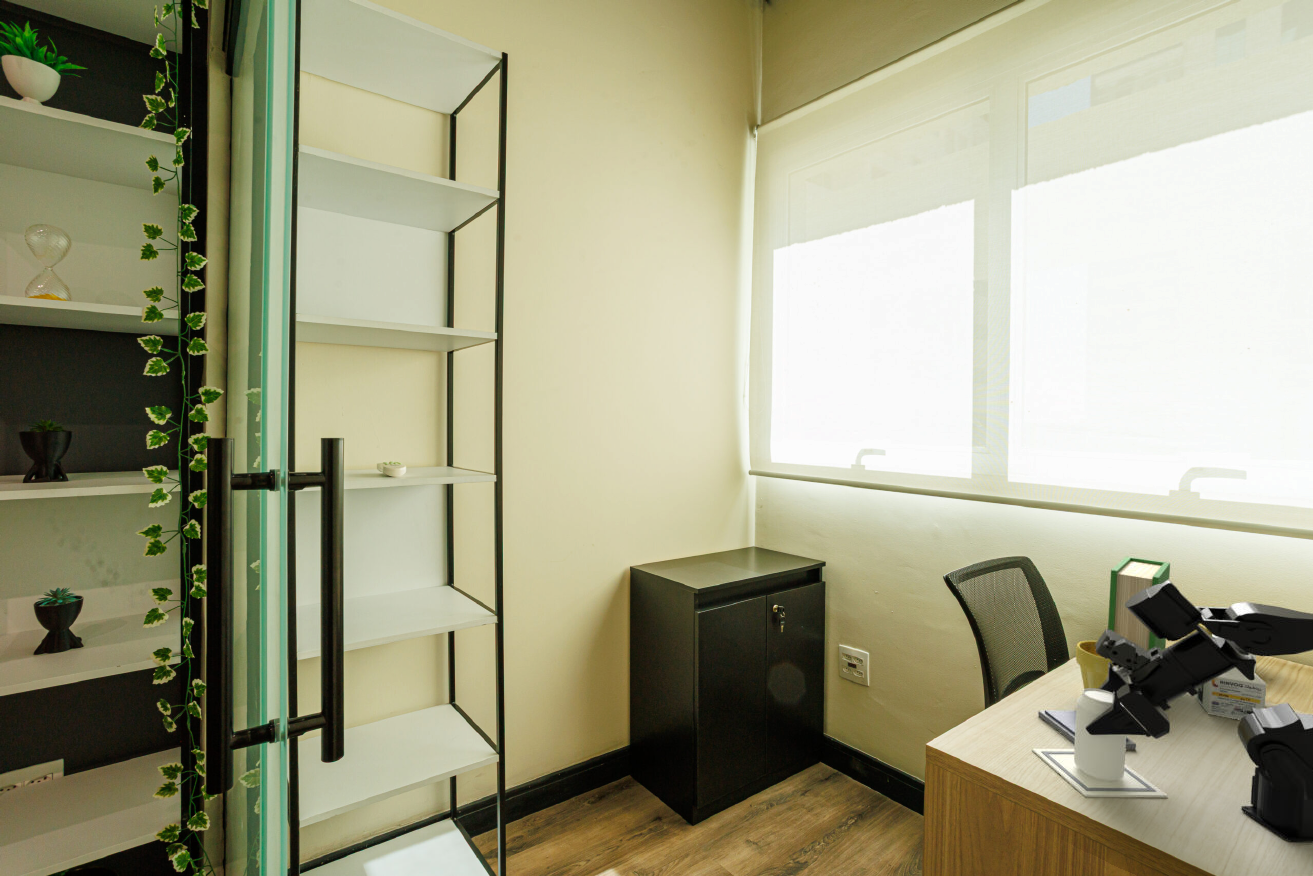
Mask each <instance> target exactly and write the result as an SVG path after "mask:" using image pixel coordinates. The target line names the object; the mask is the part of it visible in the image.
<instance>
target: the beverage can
mask: <svg viewBox="0 0 1313 876" xmlns="http://www.w3.org/2000/svg"><path fill="white" fill-rule="evenodd" d="M1112 702H1113V693H1111V692H1108V691H1105V690H1101V689H1094V688H1087V689H1084V688H1083V690H1082V694H1080V696H1079V697H1078V698H1077V699H1076V709H1075V711H1076V726H1075V744H1074V745H1073V746H1074V748H1073V749H1074V763H1075V765H1076V766H1077V767H1078V768H1079V769H1081V770H1082V771H1083V772H1084V773H1085V774H1086V775H1088V776H1090V777H1092V778H1094V779H1097V780H1101V781H1107V782H1111V781H1115V780H1120V779H1122V778H1123V776H1124V768H1125V764H1126V752H1127V751H1126V737H1127V735H1090V734H1089V733H1088V732H1087V730H1086V726H1087V725H1089V724H1090V723H1091V722H1092V721H1093V720H1095V719H1096V718H1097V717H1098V716H1100V715H1101V714H1102V713H1103V712H1105V711H1106V710H1107V709H1108V708H1110V707H1111V706H1112Z"/></svg>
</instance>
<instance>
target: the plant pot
mask: <svg viewBox="0 0 1313 876" xmlns="http://www.w3.org/2000/svg"><path fill="white" fill-rule="evenodd" d="M1097 641H1098V640H1081V641H1079V642H1078V643H1077V644H1076V648H1075V661H1076V663H1077V664H1078V666H1079V668H1080V673H1081V679H1082V684H1083V690H1084V689H1087V688H1094V689H1098V688H1099V687H1100V686H1101V685H1102V684H1103V683H1104V682H1105V680H1106V679H1107V678H1108V663H1109V662H1110V663H1111V660H1110V659H1105V658H1103V657H1102V656H1100V655H1099V654H1098V653H1097V652H1096V651H1095V650H1096V646H1095V644H1096V643H1097ZM1111 664H1112V663H1111ZM1112 665H1113V664H1112ZM1113 666H1114V665H1113Z"/></svg>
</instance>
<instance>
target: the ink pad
mask: <svg viewBox="0 0 1313 876" xmlns="http://www.w3.org/2000/svg"><path fill="white" fill-rule="evenodd" d="M1038 715H1039V716H1040V717H1041V718H1040V717H1039V716H1038ZM1038 715H1037V716H1038V717H1039V718H1040V719H1042V720H1043V719H1044V720H1045V721H1046V723H1047V724H1048V723H1049V724H1050V726H1051V727H1052V728H1053V727H1054V728H1055V730H1056V729H1057V730H1058V731H1059V732H1058V731H1057V730H1056V731H1057V732H1058V733H1060V732H1061V733H1062V734H1063V735H1062V734H1061V733H1060V734H1061V735H1062V736H1064V737H1065V736H1066V737H1065V738H1066V739H1068V740H1069V741H1070V742H1071V743H1072V744H1073V745H1075V726H1076V710H1059V709H1057V710H1055V709H1053V710H1051V709H1050V710H1049V709H1047V710H1046V709H1045V710H1038ZM1044 720H1043V721H1044ZM1045 721H1044V722H1045ZM1049 724H1048V725H1049ZM1126 749H1132V750H1131V751H1135V750H1134V749H1137V744H1136V743H1135V742H1134V741H1133V740H1131V739H1130V738H1128V737H1127V736H1126Z"/></svg>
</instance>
